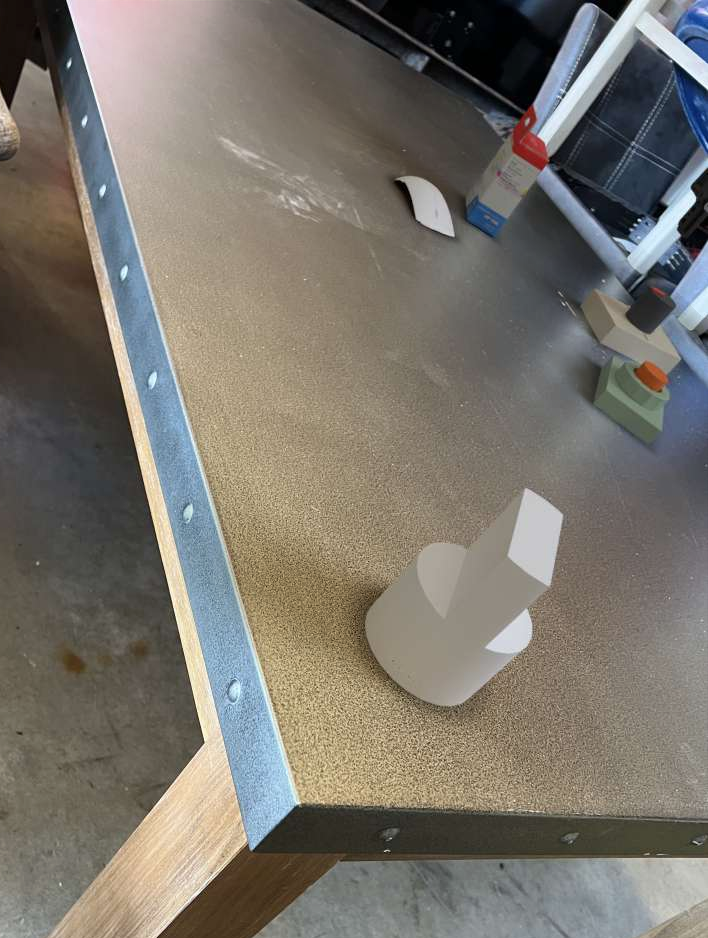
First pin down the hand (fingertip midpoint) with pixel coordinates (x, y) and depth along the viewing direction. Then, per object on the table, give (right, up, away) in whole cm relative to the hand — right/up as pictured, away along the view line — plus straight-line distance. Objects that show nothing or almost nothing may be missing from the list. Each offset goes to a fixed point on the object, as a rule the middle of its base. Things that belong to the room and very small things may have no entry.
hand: (704, 248), depth 122 cm
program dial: (-5, -7, +8) cm, 12 cm away
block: (-13, -21, -6) cm, 25 cm away
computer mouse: (-35, +7, +4) cm, 36 cm away
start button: (-11, -19, -9) cm, 23 cm away
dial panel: (-7, -9, +9) cm, 15 cm away
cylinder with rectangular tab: (-45, -48, -56) cm, 87 cm away
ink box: (-26, +9, +13) cm, 30 cm away
